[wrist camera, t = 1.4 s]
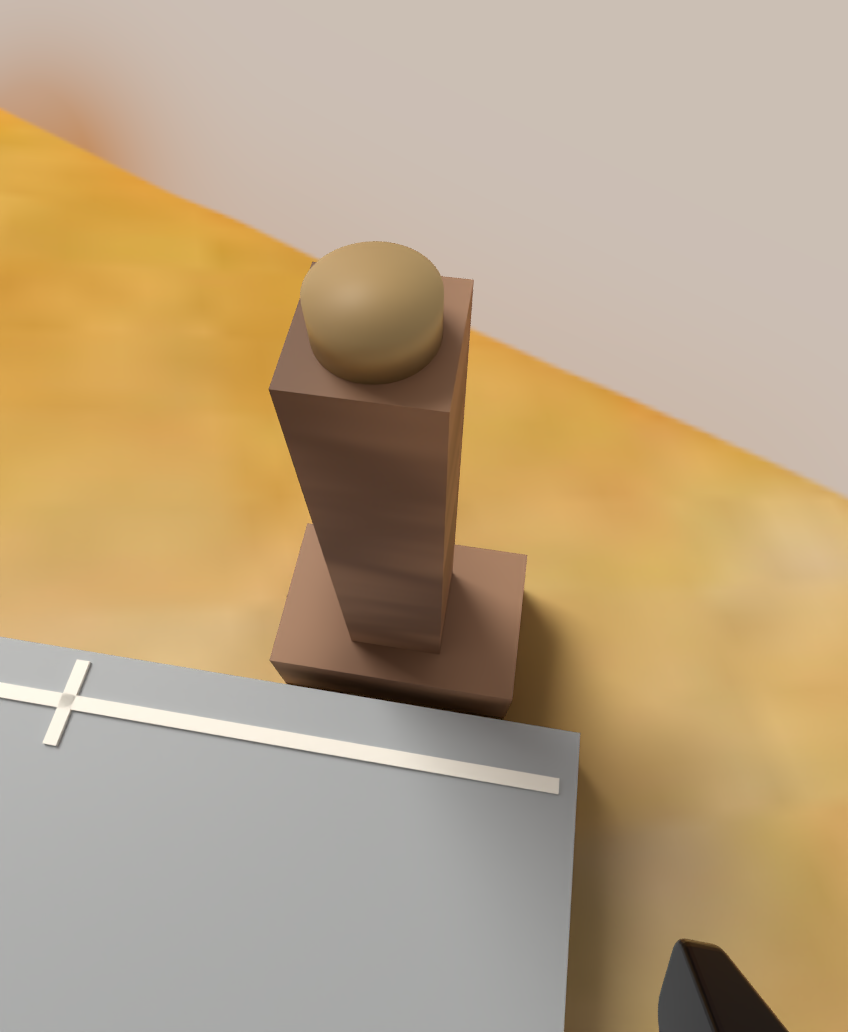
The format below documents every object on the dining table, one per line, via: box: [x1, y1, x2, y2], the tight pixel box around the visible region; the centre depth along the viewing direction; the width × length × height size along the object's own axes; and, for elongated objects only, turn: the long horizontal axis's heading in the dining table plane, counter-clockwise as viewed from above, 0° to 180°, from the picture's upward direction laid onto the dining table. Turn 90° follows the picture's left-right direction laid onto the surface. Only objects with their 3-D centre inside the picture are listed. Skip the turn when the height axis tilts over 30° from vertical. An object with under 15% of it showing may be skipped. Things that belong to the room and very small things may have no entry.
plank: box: [0, 637, 580, 1032], centre depth 18 cm, size 20×10×2 cm, turn 81°
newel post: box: [269, 241, 527, 719], centre depth 16 cm, size 7×4×15 cm, turn 81°
